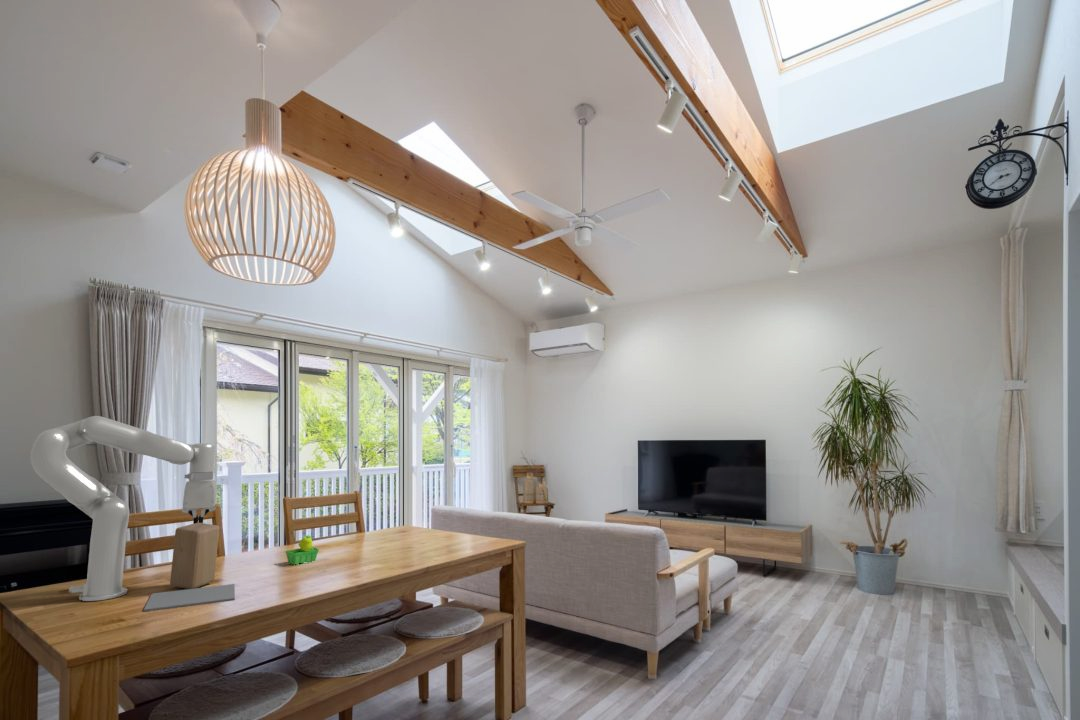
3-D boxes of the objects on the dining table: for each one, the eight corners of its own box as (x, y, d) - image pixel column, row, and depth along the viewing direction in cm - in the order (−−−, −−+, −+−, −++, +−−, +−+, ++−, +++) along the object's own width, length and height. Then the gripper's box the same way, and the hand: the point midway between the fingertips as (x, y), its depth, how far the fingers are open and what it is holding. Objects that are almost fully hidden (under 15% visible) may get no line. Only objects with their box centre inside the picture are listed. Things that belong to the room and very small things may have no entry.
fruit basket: (309, 559, 239) (311, 531, 241) (321, 561, 234) (322, 534, 235) (283, 563, 231) (285, 535, 232) (294, 566, 225) (296, 537, 227)
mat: (143, 611, 168) (143, 609, 168) (151, 595, 186) (152, 593, 186) (234, 600, 180) (234, 598, 180) (234, 585, 197) (234, 583, 197)
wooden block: (168, 586, 193) (174, 527, 194) (192, 577, 203) (198, 521, 204) (192, 590, 191) (197, 531, 192) (215, 581, 201) (221, 525, 201)
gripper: (176, 478, 200) (172, 531, 198) (224, 476, 207) (221, 527, 205) (177, 477, 207) (174, 528, 204) (224, 475, 214) (221, 524, 212)
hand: (197, 528), depth 205 cm, fingers closed
